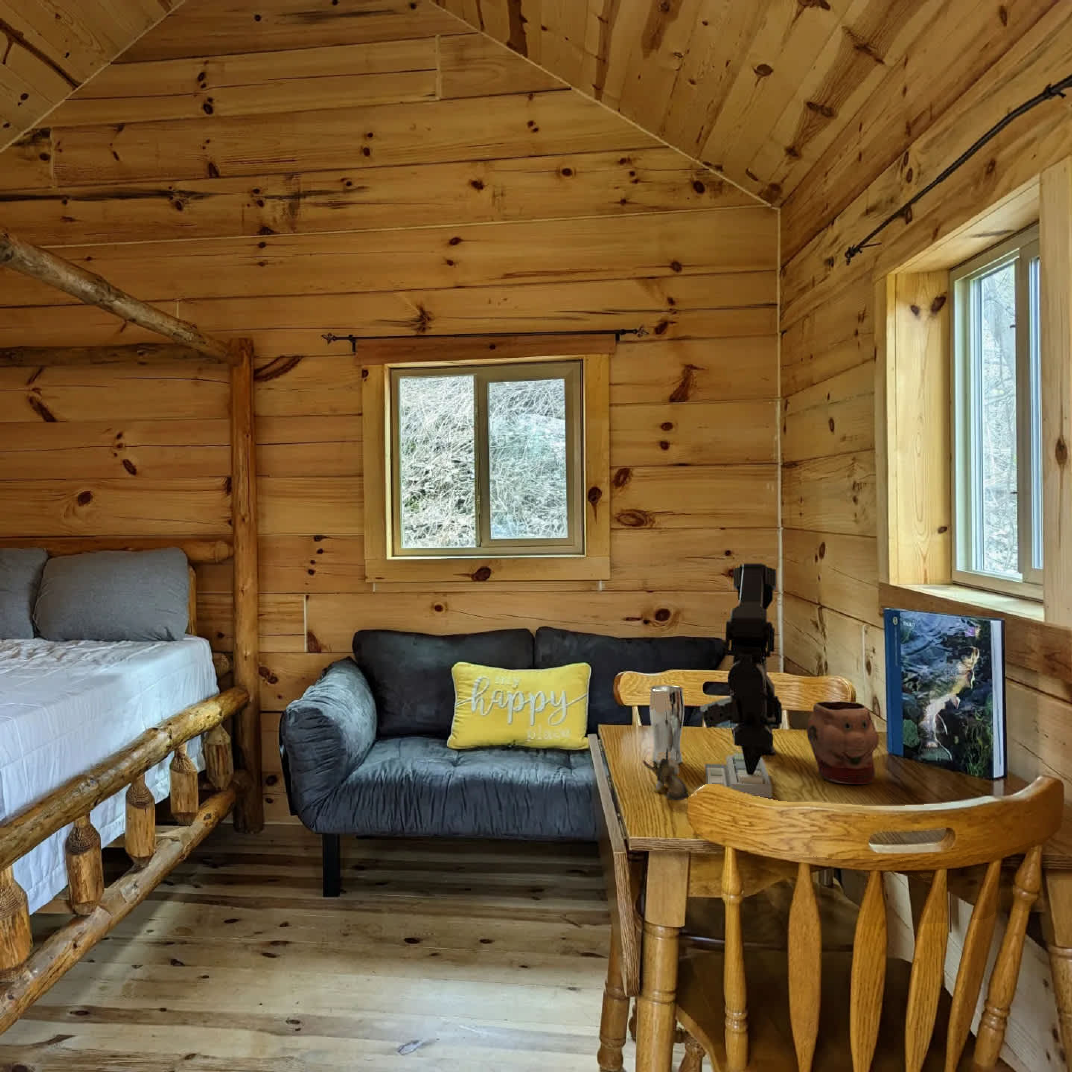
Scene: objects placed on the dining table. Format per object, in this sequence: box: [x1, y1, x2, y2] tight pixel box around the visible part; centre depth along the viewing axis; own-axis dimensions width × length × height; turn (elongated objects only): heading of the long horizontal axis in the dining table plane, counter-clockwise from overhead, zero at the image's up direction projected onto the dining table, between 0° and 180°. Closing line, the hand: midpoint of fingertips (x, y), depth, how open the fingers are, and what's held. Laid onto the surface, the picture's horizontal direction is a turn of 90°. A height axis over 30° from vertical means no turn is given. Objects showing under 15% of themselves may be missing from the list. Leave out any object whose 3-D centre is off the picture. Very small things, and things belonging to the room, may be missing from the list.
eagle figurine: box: [642, 758, 688, 802], centre depth 139 cm, size 8×7×9 cm
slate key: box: [736, 761, 760, 773], centre depth 142 cm, size 4×4×2 cm
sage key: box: [733, 752, 744, 764], centre depth 147 cm, size 4×4×2 cm
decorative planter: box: [806, 700, 880, 785], centre depth 148 cm, size 20×12×14 cm, turn 3°
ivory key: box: [738, 770, 763, 784], centre depth 136 cm, size 4×4×2 cm
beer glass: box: [649, 684, 685, 765], centre depth 158 cm, size 7×7×15 cm
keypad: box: [704, 755, 774, 800], centre depth 142 cm, size 19×11×3 cm, turn 169°
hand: (750, 773), depth 136 cm, fingers closed, pressing on ivory key
